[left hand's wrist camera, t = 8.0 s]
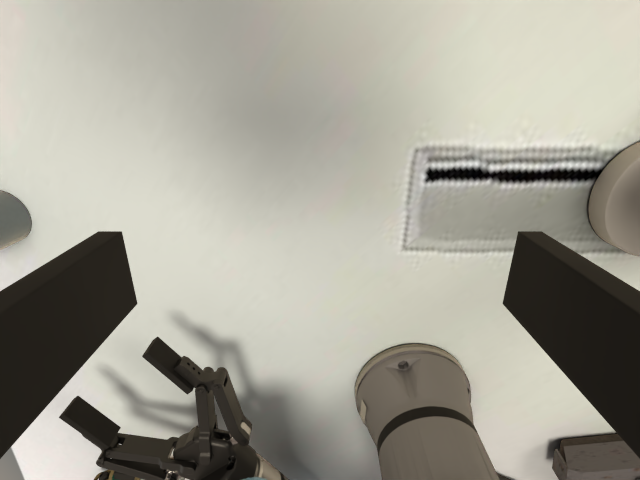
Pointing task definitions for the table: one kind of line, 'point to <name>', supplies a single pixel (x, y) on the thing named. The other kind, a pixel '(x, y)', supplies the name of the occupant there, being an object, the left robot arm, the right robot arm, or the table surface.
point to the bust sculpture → (618, 202)
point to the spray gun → (117, 476)
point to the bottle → (12, 220)
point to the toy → (596, 459)
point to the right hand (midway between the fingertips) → (107, 377)
